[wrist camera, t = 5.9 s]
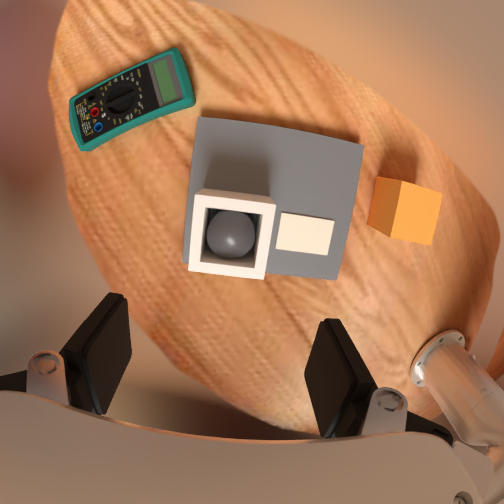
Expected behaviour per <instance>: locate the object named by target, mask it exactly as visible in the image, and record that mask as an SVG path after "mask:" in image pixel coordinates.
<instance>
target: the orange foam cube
mask: <svg viewBox="0 0 504 504" xmlns="http://www.w3.org/2000/svg"><path fill="white" fill-rule="evenodd" d="M442 195H443V194H442V193H439V192H436V191H433V190H430V189H427V188H424V187H421V186H418V185H415V184H412V183H408V182H405V181H401V180H396V179H390V178H385V177H379V176H377V178H376V183H375V189H374V194H373V199H372V204H371V209H370V214H369V218H368V223H367V225H369V226H371V227H373V228H374V229H376V230H378V231H380V232H381V233H383V234H385V235H387V236H388V237H390V238H396V239H401V240H406V241H411V242H417V243H422V244H427V245H431V243H432V240H433V236H434V232H435V228H436V224H437V219H438V215H439V210H440V206H441V201H442Z"/></svg>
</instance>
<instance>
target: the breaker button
mask: <svg viewBox="0 0 504 504" xmlns="http://www.w3.org/2000/svg"><path fill="white" fill-rule="evenodd" d="M254 240H255V231H254V226H253V221H252V218H251V216H250V214H249V213H248V212H241V211H233V210H225V209H219V210H218V211H217V212H216V213H215V214H214V216H213V218H212V220H211V222H210V224H209V226H208V229H207V242H208V244H209V246H210V248H211V249H212V251H213V252H214V253H216V254H217V255H218V256H220V257H223V258H227V259H235V258H239V257H242V256H243V255H245V254H246V253H248V252H249V250H250V249H251V248H252V246H253V244H254Z"/></svg>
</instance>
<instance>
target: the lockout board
mask: <svg viewBox="0 0 504 504" xmlns="http://www.w3.org/2000/svg"><path fill="white" fill-rule="evenodd" d="M363 149H364V145H360V144H356V143H353V142H349V141H345V140H341V139H337V138H333V137H328V136H324V135H319V134H315V133H310V132H305V131H300V130H295V129H290V128H284V127H278V126H273V125H266V124H260V123H253V122H245V121H238V120H229V119H220V118H209V117H198V121H197V128H196V134H195V141H194V149H193V156H192V164H191V173H190V181H189V191H188V200H187V211H186V222H185V234H184V247H183V263H188V264H189V268H188V271H195V272H203V273H211V274H219V275H228V276H236V277H245V278H253V279H262V280H264V276H265V273H271V274H280V275H289V276H298V277H308V278H317V279H327V280H337V277H338V273H339V269H340V265H341V261H342V257H343V253H344V248H345V244H346V240H347V235H348V231H349V226H350V221H351V217H352V212H353V207H354V202H355V197H356V191H357V186H358V180H359V174H360V168H361V162H362V156H363ZM219 209H225V210H233V211H241V212H248V213H249V214H250V216H251V218H252V221H253V226H254V231H255V240H254V244H253V246H252V248H251V249H250V250H249V252H248V253H246V254H245V255H243V256H242V257H239V258H235V259H227V258H223V257H220V256H218V255H217V254H216V253H214V252H213V251H212V249H211V248H210V246H209V244H208V242H207V229H208V226H209V224H210V222H211V220H212V218H213V216H214V214H215V213H216V212H217V211H218V210H219Z"/></svg>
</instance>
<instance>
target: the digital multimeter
mask: <svg viewBox="0 0 504 504" xmlns="http://www.w3.org/2000/svg"><path fill="white" fill-rule="evenodd" d="M119 83H120V84H119ZM128 83H129V84H128ZM194 105H195V96H194V91H193V87H192V83H191V79H190V76H189V73H188V70H187V68H186V65H185V62H184V60H183V58H182V55H181V54H180V52H179V50H178V49H177V48H171V49H169V50H166V51H164V52H162V53H159V54H157V55H155V56H153V57H151V58H149V59H146V60H144V61H142V62H140V63H138V64H136V65H134V66H132V67H130V68H128V69H126V70H124V71H122V72H120V73H118V74H116V75H114V76H112V77H110V78H108V79H106V80H104V81H102V82H100V83H98V84H96V85H94V86H92V87H90V88H88V89H86V90H84V91H82V92H81V93H79V94H77V95H75V96H73V97H72V98H71V99H70V100H69V122H70V127H71V131H72V134H73V136H74V139H75V141H76V143H77V145H78V147H79V149H80V150H81V151H91V150H93V149H95V148H96V147H98V146H100V145H102V144H103V143H105V142H107V141H109V140H110V139H112V138H114V137H116V136H118V135H120V134H122V133H124V132H126V131H128V130H130V129H132V128H134V127H137V126H139V125H141V124H144V123H146V122H149V121H151V120H154V119H156V118H159V117H162V116H164V115H167V114H170V113H173V112H176V111H179V110H182V109H186V108H189V107H192V106H194ZM157 108H158V109H157ZM115 115H116V116H115ZM118 115H119V116H118ZM136 117H137V118H136ZM123 123H124V124H123ZM101 134H102V135H101ZM99 135H100V136H99Z"/></svg>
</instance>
